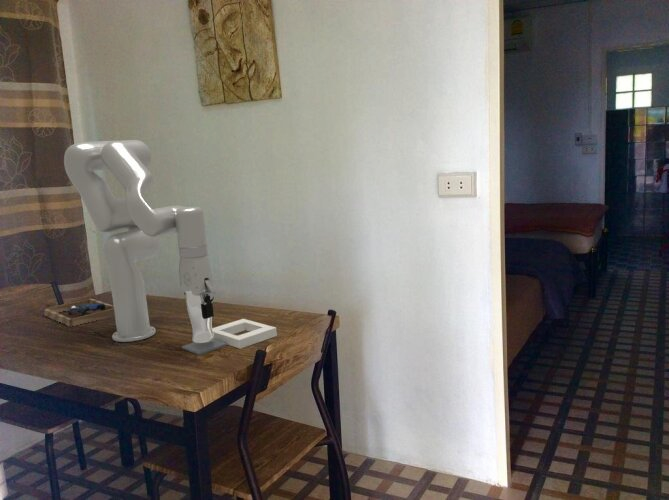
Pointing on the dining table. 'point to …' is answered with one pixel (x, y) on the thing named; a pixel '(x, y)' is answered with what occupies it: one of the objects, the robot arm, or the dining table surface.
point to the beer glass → (199, 319)
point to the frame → (54, 315)
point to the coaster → (204, 346)
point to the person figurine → (87, 308)
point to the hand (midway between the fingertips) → (200, 315)
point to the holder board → (254, 336)
